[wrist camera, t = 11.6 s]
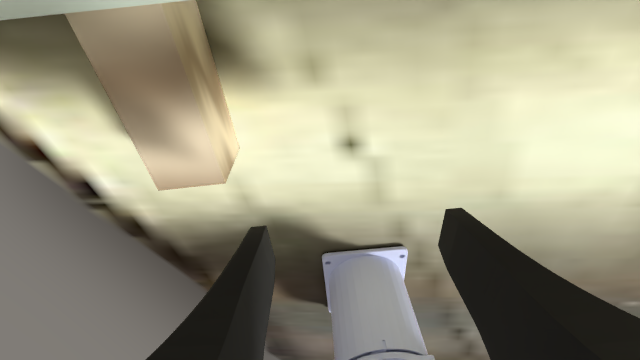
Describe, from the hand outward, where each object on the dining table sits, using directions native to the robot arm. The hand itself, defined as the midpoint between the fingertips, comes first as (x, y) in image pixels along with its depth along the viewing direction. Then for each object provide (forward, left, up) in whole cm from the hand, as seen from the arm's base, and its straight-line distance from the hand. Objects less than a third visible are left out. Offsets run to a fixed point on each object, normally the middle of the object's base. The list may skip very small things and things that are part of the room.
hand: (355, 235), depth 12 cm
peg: (+6, +9, -10) cm, 15 cm away
